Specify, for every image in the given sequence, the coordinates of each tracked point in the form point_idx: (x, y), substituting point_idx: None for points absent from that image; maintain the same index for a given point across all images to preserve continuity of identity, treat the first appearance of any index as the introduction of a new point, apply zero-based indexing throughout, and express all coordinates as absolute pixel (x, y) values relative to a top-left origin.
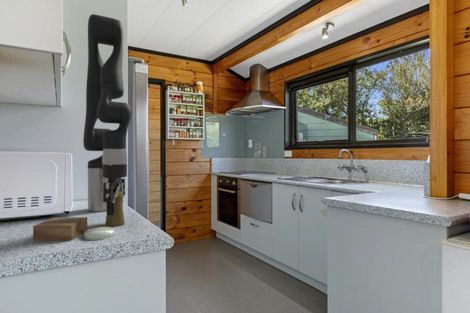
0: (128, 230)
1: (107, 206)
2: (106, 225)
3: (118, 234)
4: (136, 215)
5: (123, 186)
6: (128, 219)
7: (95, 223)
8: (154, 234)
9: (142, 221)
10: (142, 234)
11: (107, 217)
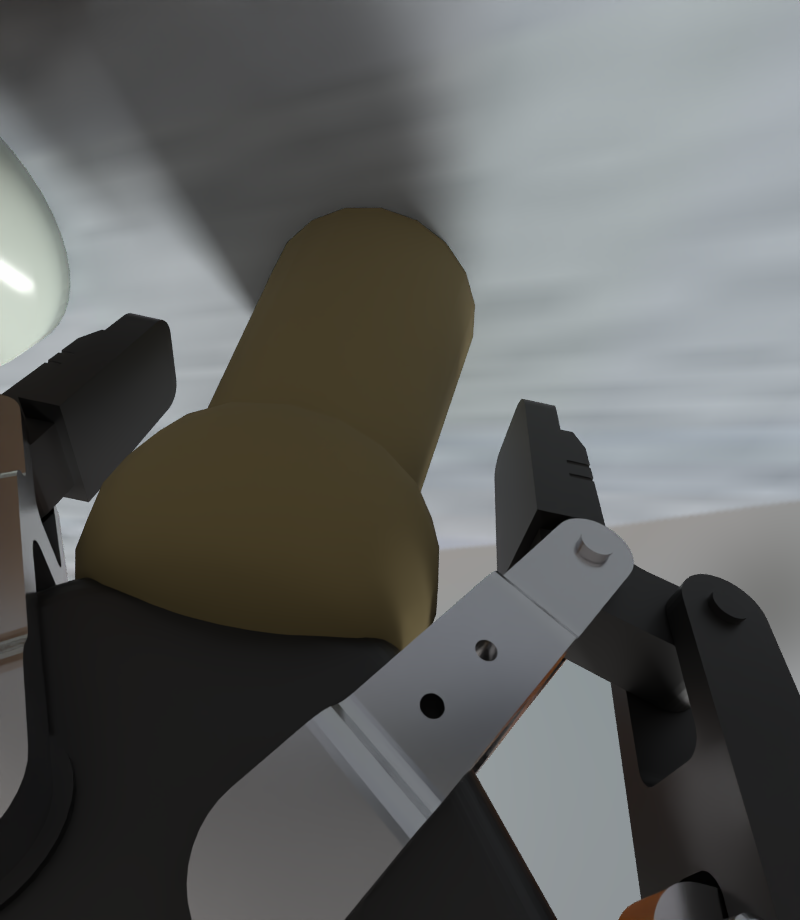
0: (145, 437)
1: (19, 388)
2: (299, 234)
3: (18, 374)
4: (750, 498)
5: (639, 870)
6: (577, 432)
7: (502, 23)
8: (72, 560)
9: (440, 528)
10: (57, 510)
11: (278, 279)
